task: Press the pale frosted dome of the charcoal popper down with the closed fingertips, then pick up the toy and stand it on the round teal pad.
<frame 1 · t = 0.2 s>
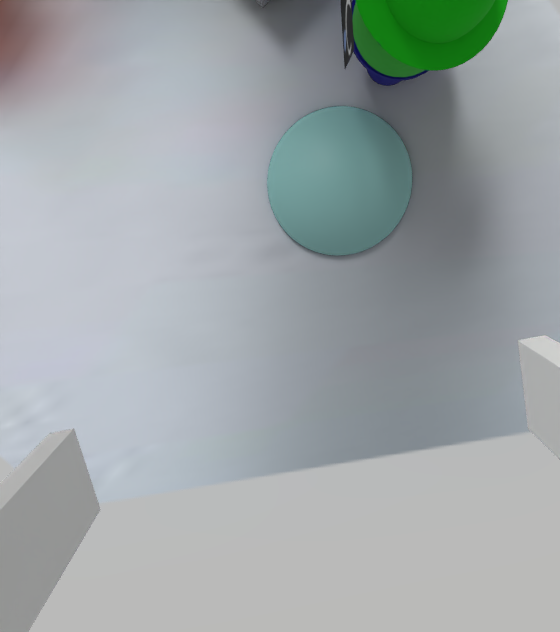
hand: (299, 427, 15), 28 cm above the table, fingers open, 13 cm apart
toy: (390, 42, 38), on the table
pad: (339, 183, 40), on the table
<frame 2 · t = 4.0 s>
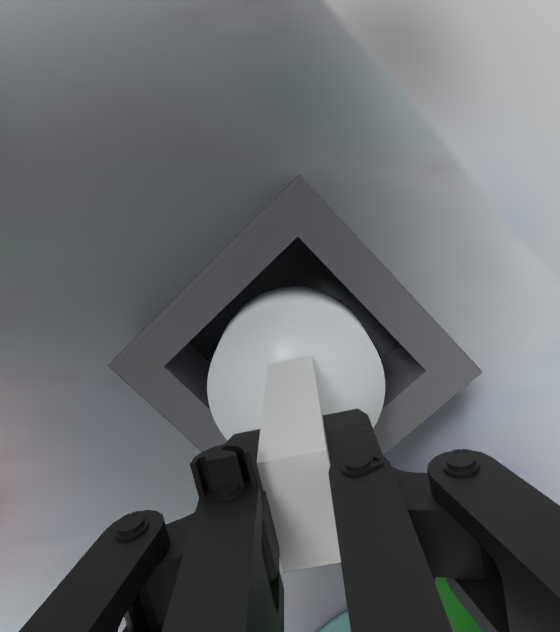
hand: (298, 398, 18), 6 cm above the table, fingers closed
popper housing: (293, 339, 24), on the table
toy: (477, 519, 26), on the table
dome: (295, 374, 19), point 5 cm above the table, slide at 0.0 cm, touching gripper
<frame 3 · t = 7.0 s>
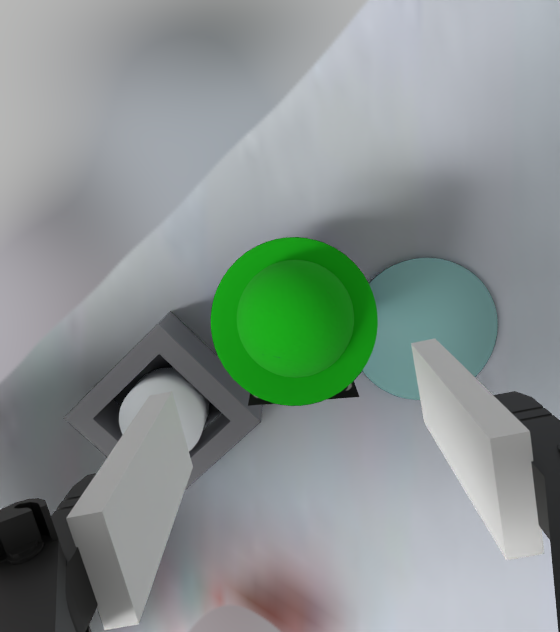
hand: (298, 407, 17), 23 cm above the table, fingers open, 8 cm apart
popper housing: (173, 398, 42), on the table
toy: (291, 283, 40), on the table
dome: (165, 412, 39), point 3 cm above the table, slide at 2.0 cm
pad: (422, 329, 40), on the table
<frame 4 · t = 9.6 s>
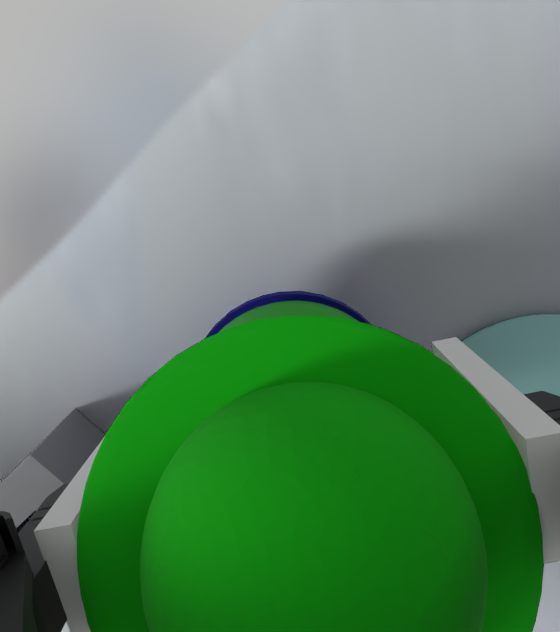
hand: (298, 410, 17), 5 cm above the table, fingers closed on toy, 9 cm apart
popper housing: (87, 556, 24), on the table
toy: (296, 359, 22), on the table, touching gripper
dome: (61, 602, 21), point 3 cm above the table, slide at 2.0 cm
pad: (533, 441, 22), on the table
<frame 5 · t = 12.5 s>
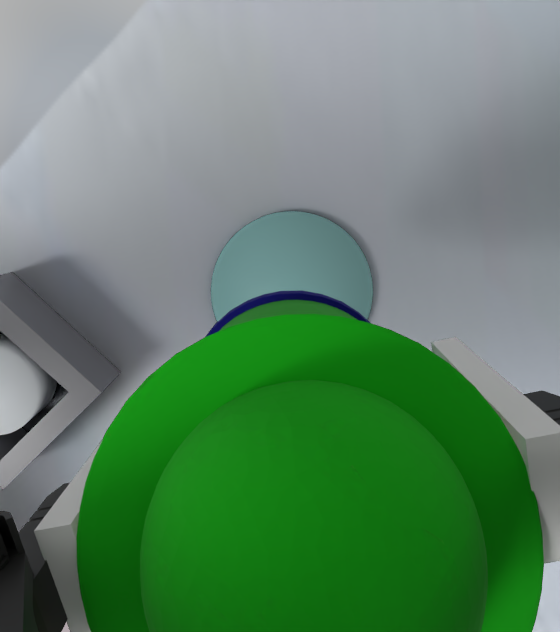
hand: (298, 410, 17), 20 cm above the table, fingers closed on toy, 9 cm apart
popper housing: (22, 370, 38), on the table
toy: (296, 359, 22), point 15 cm above the table, touching gripper
dome: (2, 383, 35), point 3 cm above the table, slide at 2.0 cm
pad: (291, 292, 36), on the table
when the fingers open (6 cm above the table, at t = 15.4 s): toy stays where it is, resting on pad.
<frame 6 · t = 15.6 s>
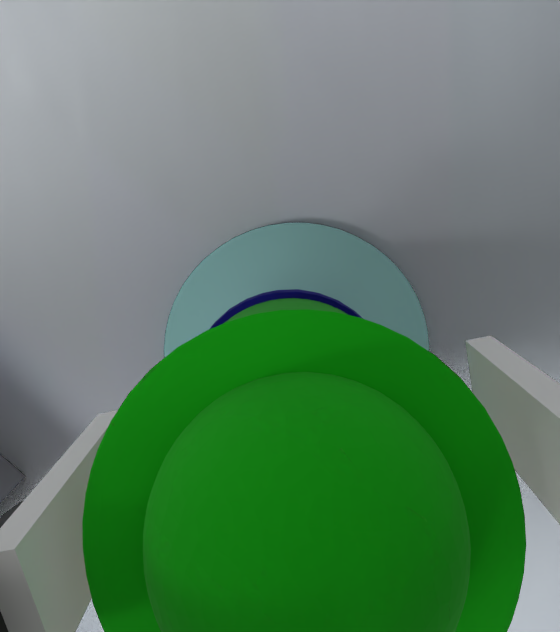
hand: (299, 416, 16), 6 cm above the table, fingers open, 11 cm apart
toy: (294, 356, 22), resting on pad
pad: (295, 354, 22), on the table
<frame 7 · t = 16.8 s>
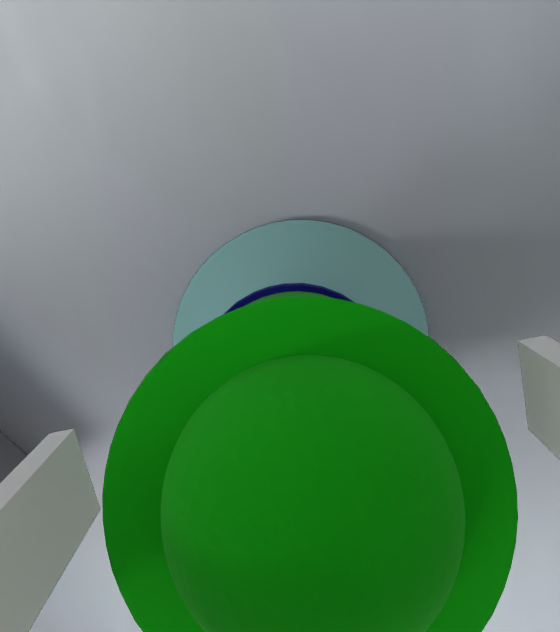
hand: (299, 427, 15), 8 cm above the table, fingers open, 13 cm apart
toy: (298, 349, 23), resting on pad
pad: (300, 347, 23), on the table
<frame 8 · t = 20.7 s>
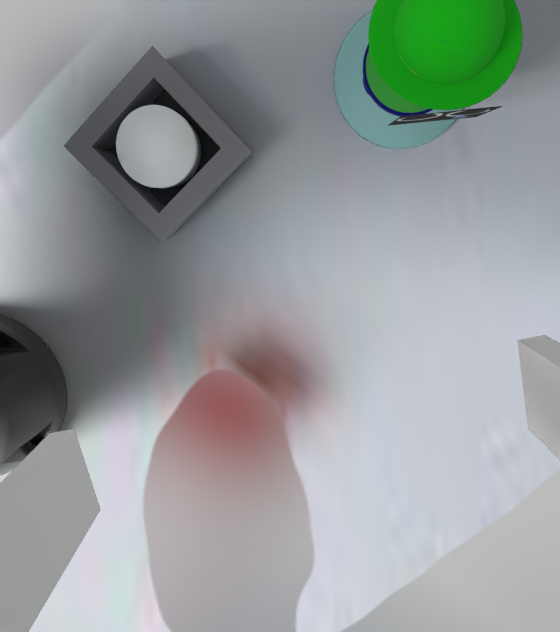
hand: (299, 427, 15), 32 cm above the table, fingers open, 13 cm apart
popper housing: (167, 151, 44), on the table
toy: (401, 77, 42), resting on pad
dome: (160, 148, 41), point 3 cm above the table, slide at 2.0 cm
pad: (402, 77, 42), on the table
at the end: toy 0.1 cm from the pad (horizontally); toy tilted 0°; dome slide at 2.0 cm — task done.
